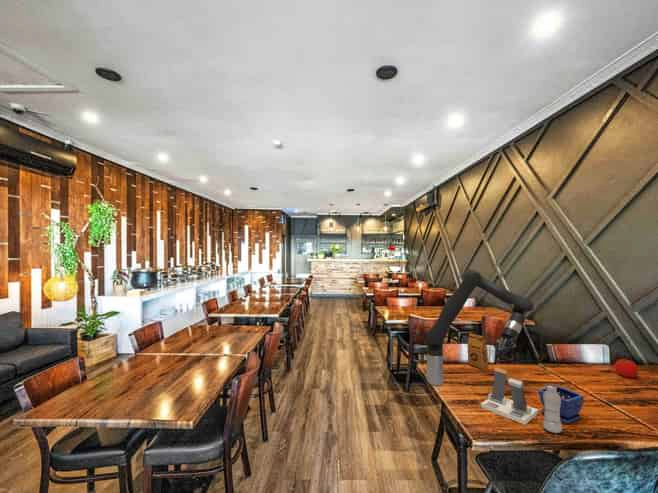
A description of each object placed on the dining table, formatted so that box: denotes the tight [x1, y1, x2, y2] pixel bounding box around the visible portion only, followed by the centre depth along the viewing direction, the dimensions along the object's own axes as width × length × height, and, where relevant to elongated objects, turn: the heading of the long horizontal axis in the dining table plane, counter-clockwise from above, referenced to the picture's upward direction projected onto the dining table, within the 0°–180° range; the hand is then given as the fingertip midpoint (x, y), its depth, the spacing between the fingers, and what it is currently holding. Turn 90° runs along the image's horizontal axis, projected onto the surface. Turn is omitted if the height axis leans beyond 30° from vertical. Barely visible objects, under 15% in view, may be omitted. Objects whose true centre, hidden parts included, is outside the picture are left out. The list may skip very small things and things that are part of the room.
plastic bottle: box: [543, 383, 563, 434], centre depth 131 cm, size 6×7×20 cm
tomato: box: [614, 358, 639, 379], centre depth 189 cm, size 10×11×11 cm
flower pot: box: [538, 385, 585, 425], centre depth 142 cm, size 13×13×12 cm
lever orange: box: [491, 366, 509, 403], centre depth 155 cm, size 2×5×16 cm, turn 36°
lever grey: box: [507, 377, 528, 412], centre depth 143 cm, size 2×5×16 cm, turn 37°
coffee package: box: [466, 333, 489, 370], centre depth 208 cm, size 10×12×22 cm
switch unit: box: [480, 392, 539, 426], centre depth 148 cm, size 16×20×5 cm
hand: (498, 357), depth 160 cm, fingers closed
